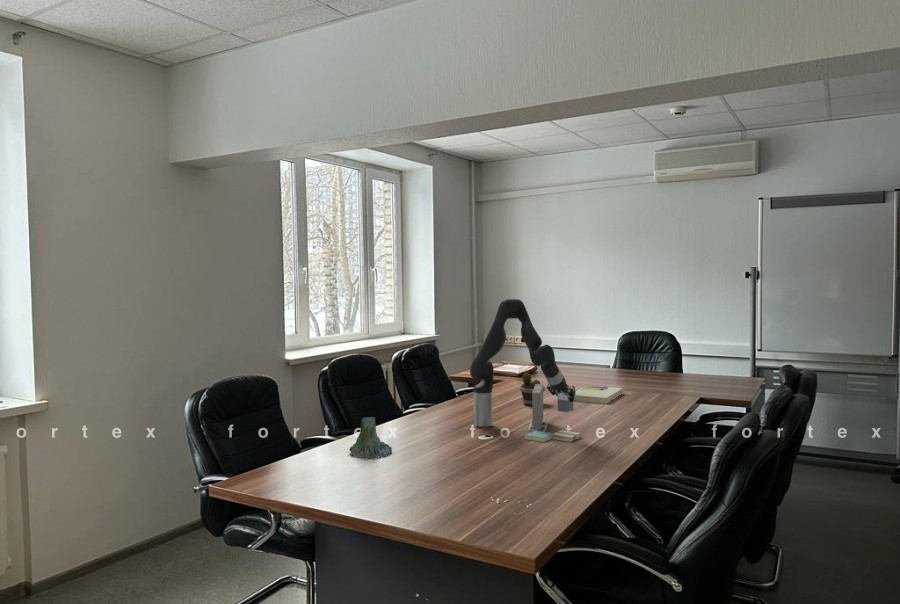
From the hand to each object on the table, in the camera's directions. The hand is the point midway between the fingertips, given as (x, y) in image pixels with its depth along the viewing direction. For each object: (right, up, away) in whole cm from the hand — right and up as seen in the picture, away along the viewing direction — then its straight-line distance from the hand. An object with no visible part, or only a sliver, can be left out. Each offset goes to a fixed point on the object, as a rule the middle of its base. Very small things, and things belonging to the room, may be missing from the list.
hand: (567, 399), depth 299 cm
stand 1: (-13, -18, 0) cm, 22 cm away
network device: (-11, -17, +22) cm, 30 cm away
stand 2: (-1, -18, -1) cm, 18 cm away
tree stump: (-90, -21, -19) cm, 94 cm away
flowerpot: (-6, -15, +78) cm, 80 cm away
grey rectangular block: (-1, -5, -1) cm, 5 cm away
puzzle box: (+36, -14, +96) cm, 103 cm away
